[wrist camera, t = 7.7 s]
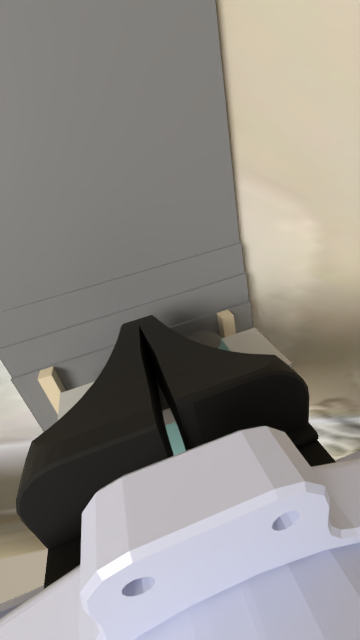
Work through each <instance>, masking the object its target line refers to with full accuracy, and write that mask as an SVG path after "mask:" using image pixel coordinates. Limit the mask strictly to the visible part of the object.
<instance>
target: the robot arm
mask: <svg viewBox="0 0 360 640" xmlns="http://www.w3.org/2000/svg"><path fill="white" fill-rule="evenodd" d="M156 379H157V381H158V384H159V386H160V388H161V390H162V392H163V394H164V396H165V398H166V401H167V403H168V405H169V407H170V410H171V412H172V414H173V417H174V419H175V421H176V424H177V426H178V429H179V432H180V435H181V438H182V441H183V444H184V447H185V450H186V451H185V452H182V453H180V454H177V455H174V454H173V451H172V447H171V444H170V441H169V437H168V434H167V430H166V426H165V422H164V417H163V412H162V408H161V403H160V397H159V391H158V386H157V381H156ZM308 419H309V392H308V387H307V385H306V383H305V382H304V380H303V379H302V378H301V377H300V376H299V375H298V374H297V373H296V372H295V371H294V370H293V369H292V368H291V367H290V366H289V365H288V364H286V363H285V362H284V361H282V360H281V359H280V358H279V357H277V356H276V355H270V354H248V353H240V352H233V351H227V350H222V349H218V348H214V347H210V346H207V345H204V344H201V343H198V342H195V341H193V340H190V339H188V338H186V337H184V336H182V335H181V334H179V333H177V332H175V331H174V330H172V329H171V328H169V327H167V326H166V325H165V324H163V323H162V322H161V321H159V320H158V319H157V318H156V317H155V316H153V315H149V316H146V317H143V318H140V319H137V320H134V321H130V322H127V323H124V324H122V326H121V328H120V332H119V335H118V338H117V341H116V344H115V346H114V348H113V351H112V353H111V355H110V357H109V359H108V361H107V363H106V365H105V367H104V368H103V370H102V372H101V373H100V375H99V376H98V378H97V379H96V381H95V382H94V383H93V384H92V386H91V387H90V388H89V389H88V390H87V392H86V393H85V394H84V395H83V396H82V398H81V399H80V400H79V401H78V402H77V403H76V404H75V405H74V406H73V407H72V408H71V409H70V410H69V411H68V412H67V413H66V414H65V415H64V416H63V417H61V418H60V419H59V420H58V421H57V422H56V423H54V424H53V425H52V426H51V427H50V428H48V429H47V430H46V431H45V432H43V433H42V434H41V435H40V436H39V437H37V438H36V439H35V440H33V441H32V443H31V446H30V449H29V452H28V455H27V457H26V461H25V465H24V468H23V473H22V477H21V481H20V486H19V490H18V495H17V499H16V508H17V513H18V515H19V517H20V518H21V520H22V522H23V523H24V524H25V525H26V526H27V527H28V528H29V529H30V530H31V531H32V532H33V533H34V534H35V536H36V537H37V538H38V539H39V540H40V541H41V542H42V543H43V544H44V545H45V546H46V547H47V548H48V556H47V565H46V574H45V583H44V585H43V586H41V587H39V588H36V589H34V590H32V591H29V592H27V593H25V594H22V595H20V596H18V597H15V598H13V599H11V600H8V601H6V602H4V603H1V604H0V640H360V451H357V452H355V453H353V454H350V455H348V456H346V457H343V458H341V459H339V460H336V461H335V460H334V459H333V458H332V457H331V456H330V455H329V453H328V452H327V451H326V450H325V449H324V448H323V446H322V445H321V444H320V443H319V442H318V440H317V439H318V434H317V432H316V431H315V430H314V428H313V427H312V426H311V425H310V424H309V423H308Z"/></svg>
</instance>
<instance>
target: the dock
mask: <svg viewBox="0 0 360 640" xmlns="http://www.w3.org/2000/svg"><path fill="white" fill-rule="evenodd" d="M149 315H153V316H155V317H156V318H157V319H158V320H159V321H161V322H162V323H163V324H165V325H166V326H167V327H169V328H171V329H172V330H174V331H175V332H177V333H179V334H181V335H182V336H184V337H187V336H189V335H190V334H192V333H194V332H197V331H211V332H214V333H216V334H217V335H219V336H220V337H221V338H225V337H228V336H231V335H234V334H237V333H240V332H243V331H246V330H249V329H252V328H253V322H252V311H251V302H250V301H249V297H248V286H247V276H246V273H244V263H243V253H242V243H240V241H239V231H238V221H237V211H236V201H235V191H234V181H233V171H232V162H231V152H230V142H229V132H228V122H227V112H226V102H225V92H224V82H223V72H222V62H221V52H220V42H219V32H218V23H217V13H216V3H215V0H0V359H1V361H2V363H3V364H4V366H5V367H6V369H7V371H8V372H9V374H10V375H11V377H12V378H11V381H12V383H13V384H14V386H15V387H16V389H17V390H18V392H19V394H20V395H21V397H22V398H23V400H24V401H25V403H26V405H27V406H28V408H29V409H30V411H31V412H32V414H33V416H34V417H35V419H36V420H37V422H38V423H39V425H40V427H41V428H42V430H43V431H44V432H45V431H46V430H47V429H48V428H50V427H51V426H52V425H53V424H54V423H56V422H57V421H58V411H59V400H60V393H62V392H65V391H68V390H71V389H74V388H77V387H80V386H83V385H86V384H89V383H92V382H95V381H96V379H97V378H98V376H99V375H100V373H101V371H102V369H103V368H104V366H105V365H106V363H107V361H108V359H109V357H110V355H111V353H112V351H113V348H114V346H115V344H116V341H117V338H118V335H119V332H120V328H121V326H122V324H124V323H127V322H130V321H134V320H137V319H140V318H143V317H146V316H149Z"/></svg>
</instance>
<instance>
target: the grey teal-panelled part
mask: <svg viewBox="0 0 360 640" xmlns="http://www.w3.org/2000/svg"><path fill="white" fill-rule="evenodd" d="M186 338H188V339H190V340H193V341H195V342H198V343H201V344H204V345H207V346H210V347H214V348H218V349H222V350H227V351H233V352H240V353H248V354H270V355H276V356H277V357H279V358H280V359H281V360H282V361H284V362H285V363H286V364H288V365H289V366H290V367H291V368H292V363H291V362H290V361H289V360H288V359H287V358H286V357H285V356H284V355H283V354H282V353H281V352H280V351H279V350H278V349H277V348H276V347H275V346H274V345H273V344H272V343H271V342H270V341H269V340H268V339H267V338H266V337H265V336H263V335H262V334H261V333H260V332H259V331H258V330H257V329H256V328H252V329H249V330H246V331H243V332H240V333H237V334H234V335H231V336H228V337H225V338H221V337H220V336H219V335H217V334H216V333H214V332H211V331H197V332H194V333H192V334H190V335H189V336H187V337H186ZM104 367H105V366H104ZM102 370H103V369H102ZM101 372H102V371H101ZM156 381H157V379H156ZM93 383H94V382H92V383H89V384H86V385H83V386H80V387H77V388H74V389H71V390H68V391H65V392H62V393H60V400H59V411H58V420H59V419H60V418H61V417H63V416H64V415H65V414H66V413H67V412H68V411H69V410H70V409H71V408H72V407H73V406H74V405H75V404H76V403H77V402H78V401H79V400H80V399H81V398H82V396H83V395H84V394H85V393H86V392H87V390H88V389H89V388H90V387H91V386H92V384H93ZM157 386H158V391H159V397H160V403H161V408H162V412H163V417H164V422H165V426H166V430H167V434H168V437H169V441H170V444H171V447H172V451H173V454H174V455H177V454H180V453H182V452H185V451H186V450H185V447H184V444H183V441H182V438H181V435H180V432H179V429H178V426H177V424H176V421H175V419H174V417H173V414H172V412H171V410H170V407H169V405H168V403H167V401H166V398H165V396H164V394H163V392H162V390H161V388H160V386H159V384H158V381H157Z"/></svg>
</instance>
